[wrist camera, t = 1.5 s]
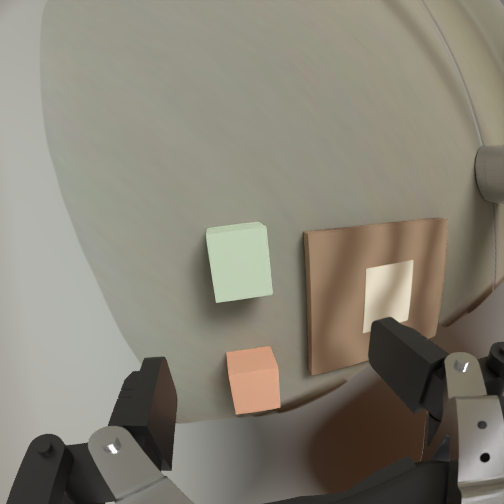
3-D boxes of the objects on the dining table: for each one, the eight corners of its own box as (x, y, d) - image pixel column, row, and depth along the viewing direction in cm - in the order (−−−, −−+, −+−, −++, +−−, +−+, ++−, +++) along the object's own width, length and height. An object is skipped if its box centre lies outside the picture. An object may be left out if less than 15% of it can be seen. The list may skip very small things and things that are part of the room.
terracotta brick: (269, 345, 30) (278, 367, 26) (272, 384, 32) (280, 407, 27) (226, 351, 30) (228, 374, 25) (232, 390, 31) (235, 414, 27)
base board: (440, 217, 30) (448, 219, 29) (429, 331, 34) (435, 336, 32) (303, 231, 28) (308, 234, 26) (307, 368, 32) (311, 376, 30)
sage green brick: (257, 221, 27) (266, 226, 23) (264, 279, 29) (272, 294, 24) (207, 228, 27) (205, 234, 22) (215, 286, 28) (216, 302, 24)
